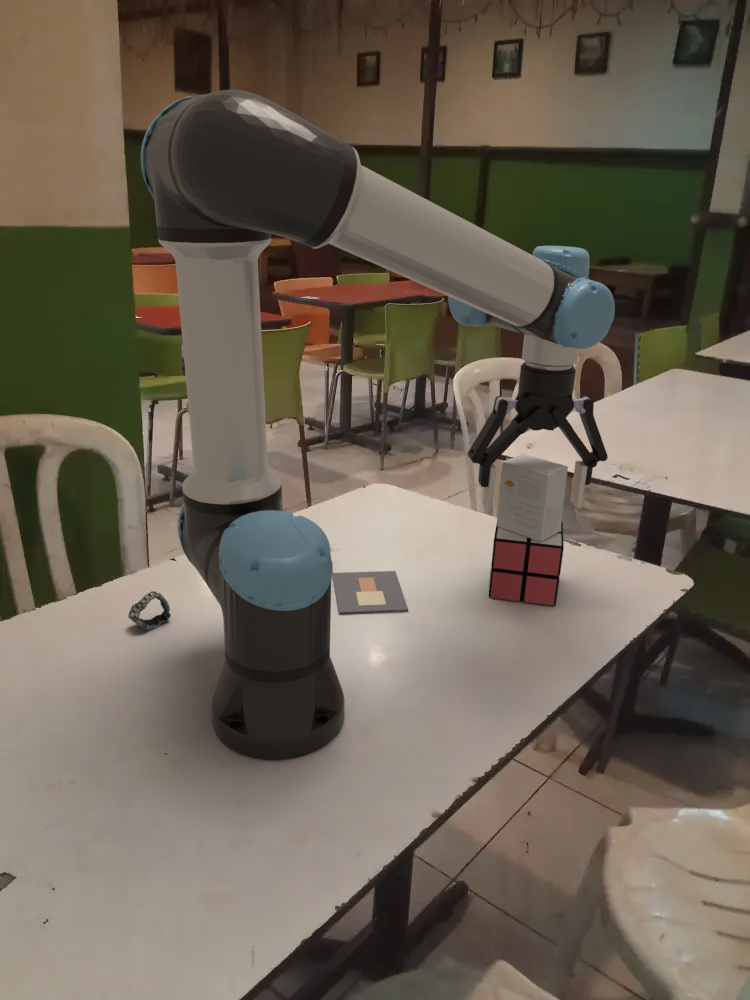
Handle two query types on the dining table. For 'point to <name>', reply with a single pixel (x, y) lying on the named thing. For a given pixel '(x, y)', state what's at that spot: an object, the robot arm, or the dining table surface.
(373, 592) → the card
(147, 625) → the wristwatch
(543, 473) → the small box
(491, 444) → the robot arm
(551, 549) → the puzzle cube
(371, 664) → the dining table surface
